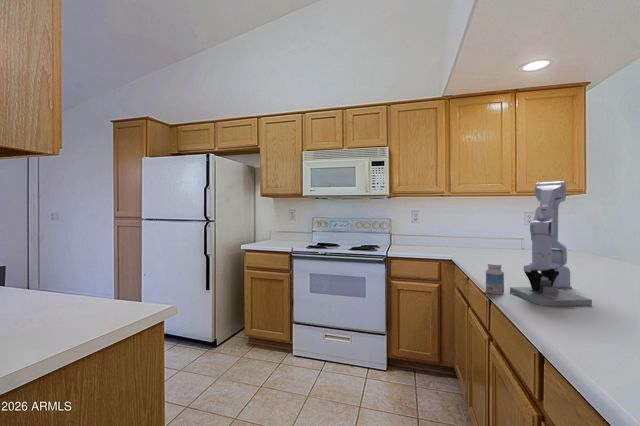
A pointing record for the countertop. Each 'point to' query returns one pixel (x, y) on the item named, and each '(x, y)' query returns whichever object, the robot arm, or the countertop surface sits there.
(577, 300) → the socket panel
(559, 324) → the countertop surface
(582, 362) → the countertop surface
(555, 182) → the robot arm
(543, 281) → the plug
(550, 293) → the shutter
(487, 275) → the pill bottle
